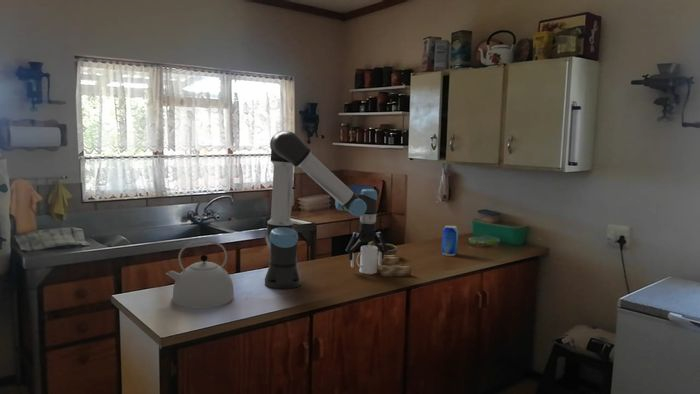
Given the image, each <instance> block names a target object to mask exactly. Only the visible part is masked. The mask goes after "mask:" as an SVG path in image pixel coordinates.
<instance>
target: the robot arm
mask: <svg viewBox="0 0 700 394" xmlns="http://www.w3.org/2000/svg"><path fill="white" fill-rule="evenodd" d="M269 147H270V162H271V164H273V173H272V175H273V176H272V188H271V189H272V191H271V192H272V193H271V195H272V196H271V211H270V212H271V213H270V219H268V220H267V222H266V223H267V224H266V231H265V234H264V241H265V243H266V245H267V247H268V249H269V264H268V269H267V271H266V274H265V277H264V285H265V286H266V287H268V288H271V289H276V290H277V289H278V290H289V289H294V288H297V287H299V286H300V285H301V276H300V273H299V270H298V267H297V266H298V244H299V243H298V242H299V235H298V232H297V230H295V229H294V221H292V220H291V213H292V212H291V209H292V197H293V195H292V194H293V193H292V192H293V178H294V177H293V176H294V167H295V168H300V169H301V170H302V171H303V172H304V173H306V175H307V176H308V177H310V179H312V180H313V181H314V182H315V183H316V184H318V185H319V186H320V187H321V188H322V189H323V190H324V191H325V192H326V193H327V194H329V195H330V196H331V197H332V198H333V199H334V205H335V209H336V210H337V211H347V212H348V213H350V214H351V215H352V216H355V217H359V232H355V231H353V232H352V234H351V235H352V236H351V238H350V239H349V242H348V244H347V246H346V248H345V249H344V250H345V252H346V253H348V259H349V261H350V267H351V268H355V267H354V266H355V253H354V252H355V251H356V249H358V248H359V246H360V245H361V244H362V243H369V242H371V241H373V243H374V244H375V245H376V246H377V247H378V249H379V250H380V251H381V252H379V256H378V265H379V266H380V267H381V262H382V259H383V258H384V253H385V252H387V251H388V249H387V247H386V245H385V244H386V243H385V241H384V238H383V233H382V232H381V231H378V232H376V230H377V228H376V227H377V223H376V222H377V207H378V204H377V203H378V192H377V190H376V189H371V188H362V190H361V192H360V193H354V192H353V190H352V189H351V188H349V187H348V185H346V184H345V183H344V182H343V181H342V180H341V179H339V178H338V177H337V176H336V175H335V174H334V173H333V172H332V171H331V170H330V169H328V167H326V166H325V164H323V163H322V162H321V161H320V160H319V159H318V158H317V157H316V156H314V155H313V154H312V149H311V148H310V147H308V146H307V144H306V143H304V141H303V140H302V138H300V137H299V136H298V135H297V134H296V133H295V132H292V131H289V130H280V131H277V132H276V133H274V135H272V137H271V139H270V143H269ZM358 237H359V238H358ZM376 237H377V238H378V240H379V242H380V243H381V244H382V246H383V249H382V248H381V247H380V245H379V243H378V241H377V240H376V239H375V238H376ZM357 238H358V239H357ZM356 239H357V240H356ZM355 241H356V242H355ZM374 244H373V245H374Z"/></svg>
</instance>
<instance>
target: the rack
mask: <svg viewBox="0 0 700 394" xmlns="http://www.w3.org/2000/svg"><path fill="white" fill-rule="evenodd" d="M377 273H378V274H379V275H380V276H381V277H382V276H383V277H386V276H387V277H411V276H412V266H410V265H408V266H407V265H405V266H402V265H401V264H400V257H399V256H397V254H396V255H384V258H383V259H382V262H381V267H380V266H379V265H378V256H377Z"/></svg>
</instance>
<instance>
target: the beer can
mask: <svg viewBox="0 0 700 394" xmlns="http://www.w3.org/2000/svg"><path fill="white" fill-rule="evenodd" d="M458 239H459V230H458V227H457V226H456V225H450V224H448V225H444V228H443V230H442V239H441V249H440V250H441V254H442V255H443V256H447V257H455V256H456V254H457V253H458V242H459V241H458Z"/></svg>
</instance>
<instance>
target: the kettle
mask: <svg viewBox="0 0 700 394" xmlns="http://www.w3.org/2000/svg"><path fill="white" fill-rule="evenodd" d="M197 244H214V245H216V246H219V247H220V248H221V249H222V250H223V252H224V261H223V262H222V264H221V265H219V264H217V263H216V262H211V261H207V260H208V255H206V254H201V256H200V260H201V261H198V262H194V263H192V264H190V265H188V266H187V267H186V268H184V265H183V264H182V261H181V260H182V259H181V257H182V253H183V252H184V250H185V249H186V248H188V247H190V246H193V245H197ZM177 256H178V257H177V260H178V261H177V262H178V264H179V267H180V268H181V270H182V271H181V272H180V273H179V272H177V271H174V270H169V271H167V272H166V273H165V275H167V276H168V277H169V278H170V279H172V280H174V284H173V290H172V302H173V303H174V305H175V304H176V305H177V306H180V307H184V308H191V309H204V308H207V309H208V308H215V307H220V306H223V305H227V304H228V303H230V302H231V301H233V299H234V298H235V297H234V294H235V293H234V284H233V281H232V278H231V276H230V274H229V273H228V272H227V271H226V269H225V268H224V266H225V265H226V263H227V261H228V253H227V250H226V248H225V246H223V245H222V244H221V243H219V242H217V241H216V240H215V241H214V240H198V241H192V242H190V243H187V244H186V245H183V247H182V248H181V249H180V251H179V252H178V255H177Z"/></svg>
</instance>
